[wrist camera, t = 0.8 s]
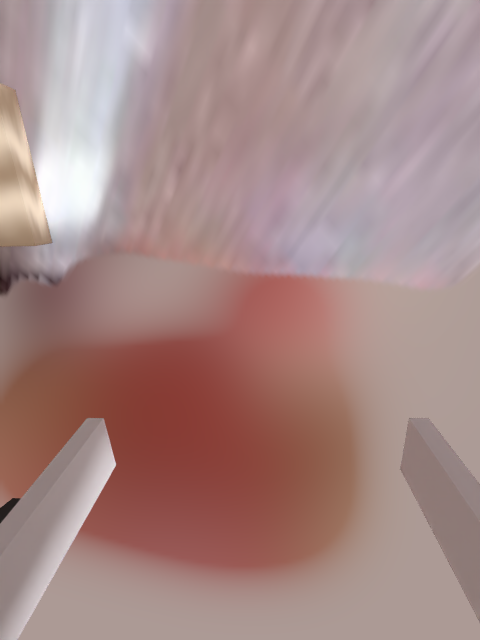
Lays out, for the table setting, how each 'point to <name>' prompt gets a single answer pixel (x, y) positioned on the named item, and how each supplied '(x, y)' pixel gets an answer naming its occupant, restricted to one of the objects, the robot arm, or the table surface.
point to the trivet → (18, 181)
